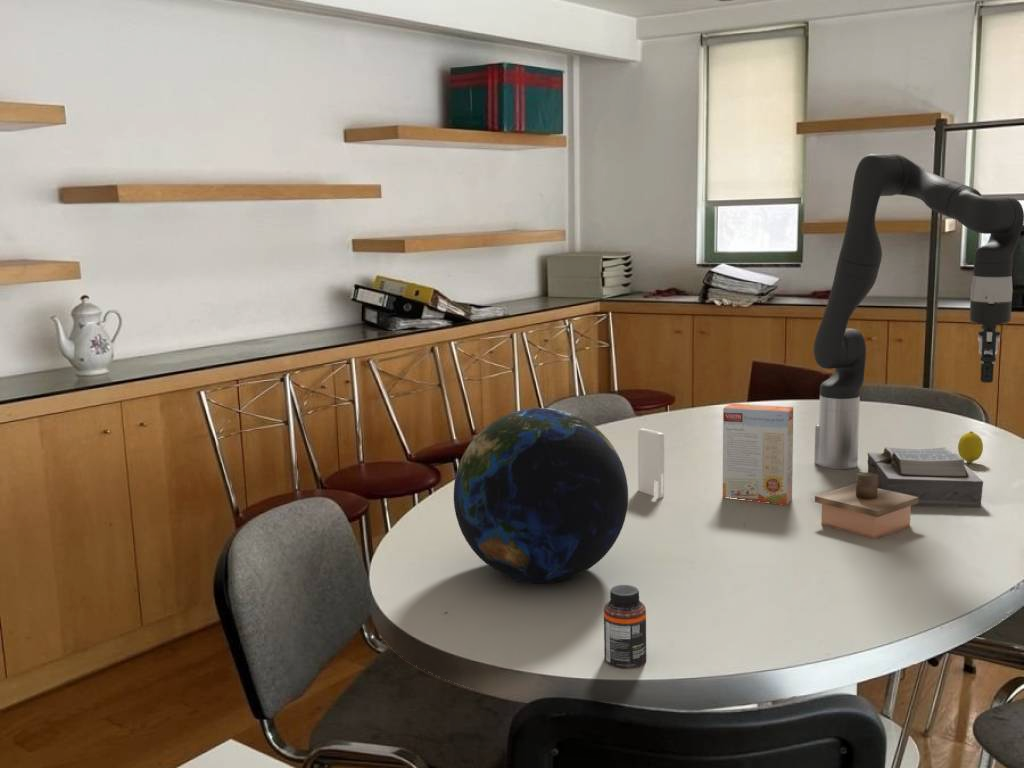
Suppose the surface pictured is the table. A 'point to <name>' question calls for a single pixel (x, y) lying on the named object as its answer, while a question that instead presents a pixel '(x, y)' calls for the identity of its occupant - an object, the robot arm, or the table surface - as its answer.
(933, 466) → the bible
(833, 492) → the lid
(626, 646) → the supplement bottle
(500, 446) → the globe
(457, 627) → the table surface
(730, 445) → the cracker box
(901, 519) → the dish
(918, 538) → the table surface
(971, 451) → the lemon
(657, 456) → the phone case
